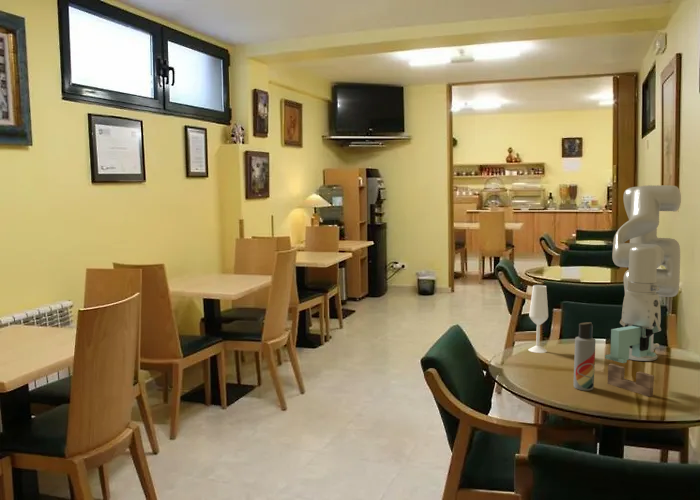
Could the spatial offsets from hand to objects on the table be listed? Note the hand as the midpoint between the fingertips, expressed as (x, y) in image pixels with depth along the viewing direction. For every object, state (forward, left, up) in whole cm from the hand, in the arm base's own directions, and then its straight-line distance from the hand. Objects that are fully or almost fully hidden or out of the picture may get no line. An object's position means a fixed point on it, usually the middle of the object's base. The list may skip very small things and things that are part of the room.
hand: (638, 348), depth 184 cm
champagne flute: (-7, -45, -12) cm, 47 cm away
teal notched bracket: (+4, 0, -2) cm, 4 cm away
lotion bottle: (+14, -8, -12) cm, 20 cm away
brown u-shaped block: (+3, 0, -12) cm, 13 cm away
